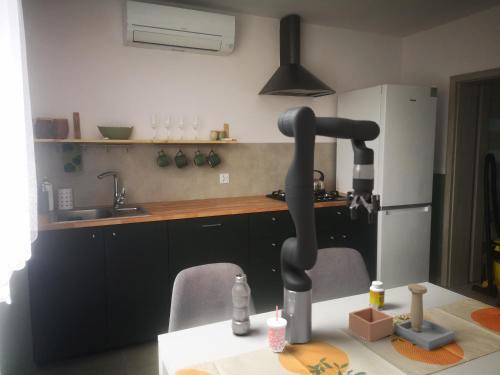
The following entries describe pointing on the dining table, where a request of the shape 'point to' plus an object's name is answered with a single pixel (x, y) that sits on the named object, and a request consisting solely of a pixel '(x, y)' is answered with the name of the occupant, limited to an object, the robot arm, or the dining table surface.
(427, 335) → the tray
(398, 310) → the dining table surface
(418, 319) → the handle
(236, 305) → the plastic bottle
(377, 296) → the supplement bottle
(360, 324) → the terracotta storage bin
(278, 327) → the beverage cup
